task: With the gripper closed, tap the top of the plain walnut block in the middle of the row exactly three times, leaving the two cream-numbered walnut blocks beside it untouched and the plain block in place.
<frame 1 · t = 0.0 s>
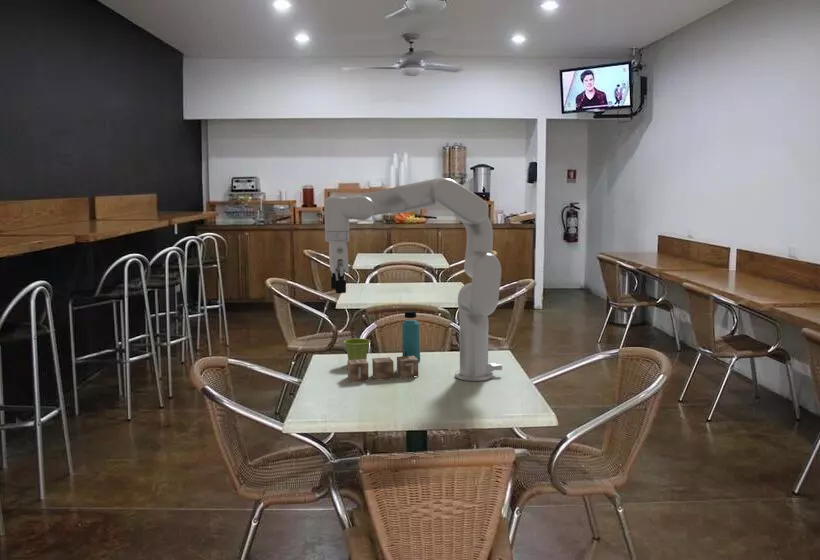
hand: (338, 290, 225), 31 cm above the table, fingers open, 9 cm apart
block one: (358, 379, 238), on the table
plain block: (383, 377, 240), on the table
plant pot: (357, 365, 257), on the table
beverage bottle: (411, 366, 254), on the table
block seven: (407, 375, 242), on the table
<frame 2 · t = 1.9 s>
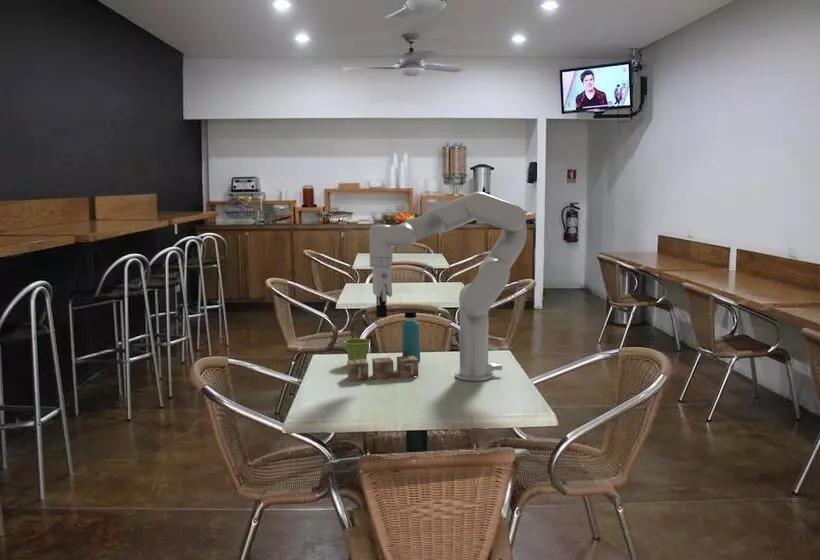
hand: (381, 316, 238), 21 cm above the table, fingers closed
nothing on the table moved.
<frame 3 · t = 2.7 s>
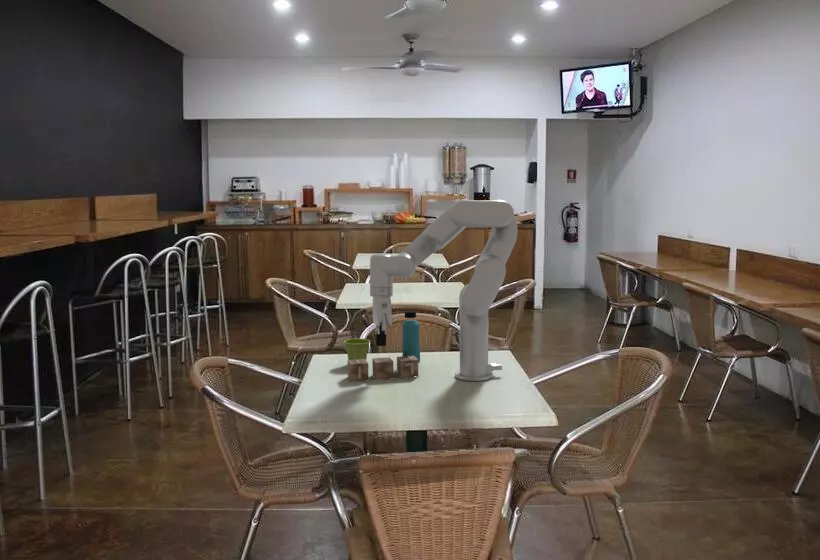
hand: (381, 345, 239), 11 cm above the table, fingers closed
nothing on the table moved.
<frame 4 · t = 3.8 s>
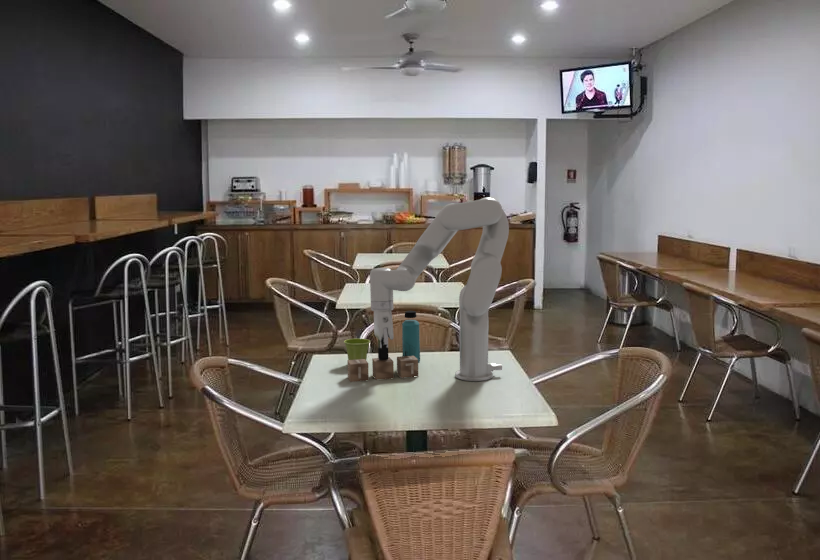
hand: (383, 359, 240), 6 cm above the table, fingers closed
nothing on the table moved.
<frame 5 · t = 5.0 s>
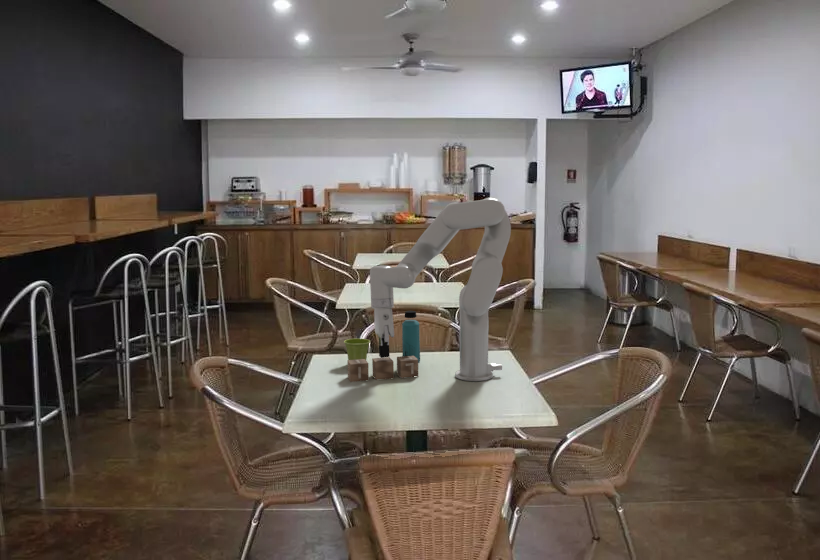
hand: (384, 356, 239), 7 cm above the table, fingers closed
nothing on the table moved.
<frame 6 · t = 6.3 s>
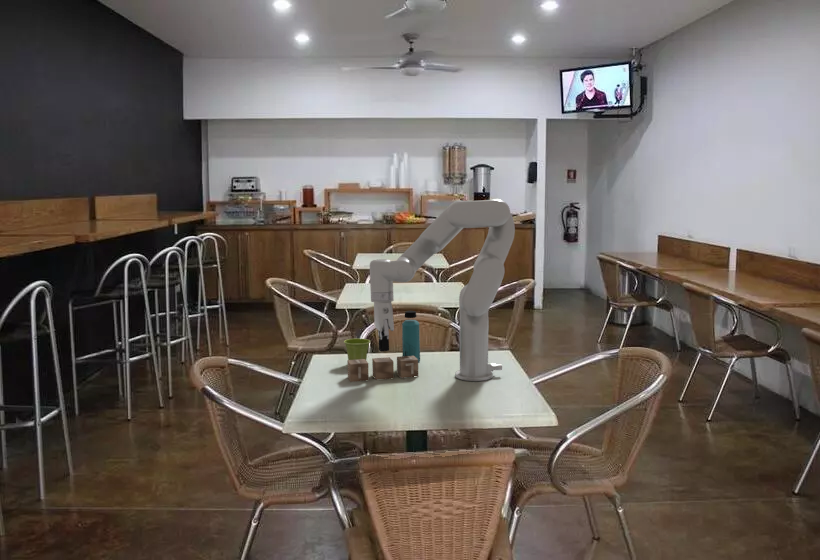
hand: (384, 350, 239), 9 cm above the table, fingers closed
nothing on the table moved.
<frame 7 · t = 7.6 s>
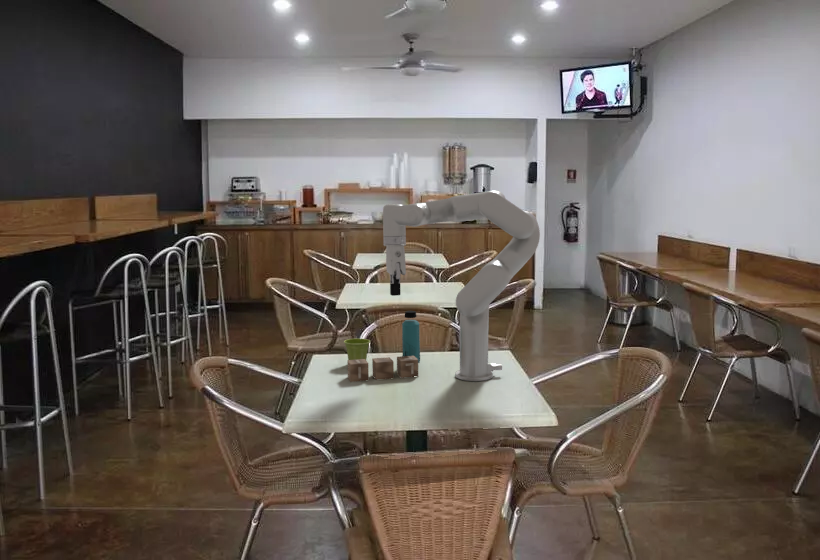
hand: (395, 295, 242), 27 cm above the table, fingers closed
nothing on the table moved.
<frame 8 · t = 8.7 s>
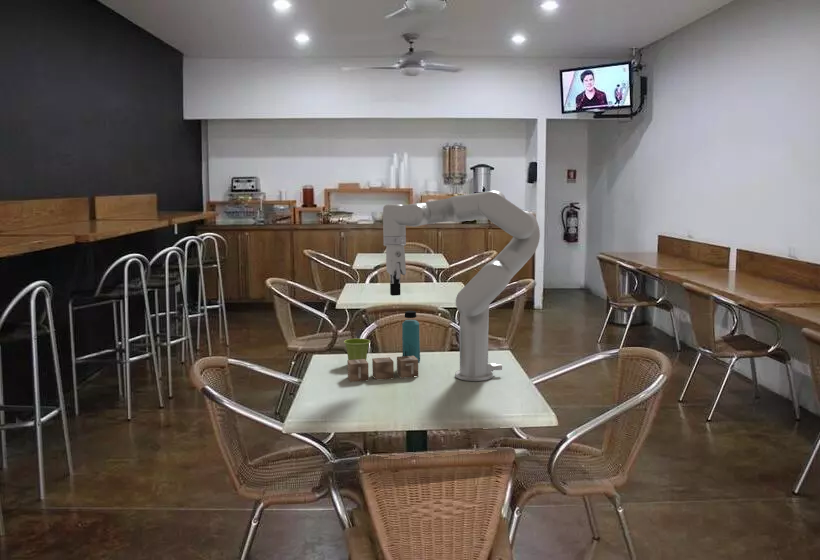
hand: (395, 294, 242), 27 cm above the table, fingers closed
nothing on the table moved.
at the end: plain block moved 0.1 cm from its start; plain block tilted 0°; block seven moved 0.1 cm from its start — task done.
